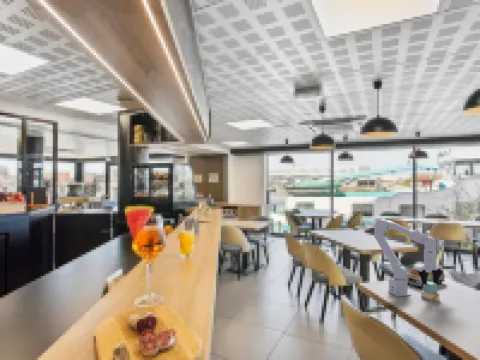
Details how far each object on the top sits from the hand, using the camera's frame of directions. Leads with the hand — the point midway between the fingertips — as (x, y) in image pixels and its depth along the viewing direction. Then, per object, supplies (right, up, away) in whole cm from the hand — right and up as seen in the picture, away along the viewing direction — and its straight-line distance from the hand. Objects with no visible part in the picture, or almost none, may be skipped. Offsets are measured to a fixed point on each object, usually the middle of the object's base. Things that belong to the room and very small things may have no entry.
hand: (430, 283), depth 158 cm
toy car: (+13, -9, +24) cm, 29 cm away
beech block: (0, -9, 0) cm, 9 cm away
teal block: (0, -5, 0) cm, 5 cm away
